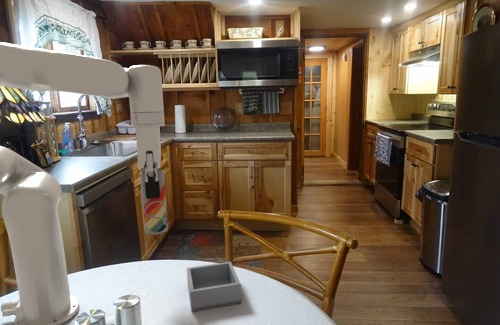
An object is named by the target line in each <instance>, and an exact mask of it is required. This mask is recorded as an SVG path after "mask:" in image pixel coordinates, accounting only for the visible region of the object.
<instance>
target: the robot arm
mask: <svg viewBox="0 0 500 325" xmlns="http://www.w3.org/2000/svg"><path fill="white" fill-rule="evenodd" d="M162 81H163V80H162V71H161V69H160V67H158V66H155V65H150V64H139V65H138V64H137V65H132V66H130V67H129V68H127V67H123V66H122V65H121V64H119V63H117V62H115V61H112V60H109V59H104V58H99V57H94V56H88V55H82V54H75V53H70V52H63V51H61V52H60V51H55V50H50V49H49V50H48V49H46V48H36V47H30V46H26V45H25V46H23V45H18V44H13V43H9V42H2V41H0V87H4V88H6V87H7V88H12V89H18V90H26V91H34V92H36V91H37V92H47V91H48V92H50V91H51V92H53V91H54V92H65V93H72V94H80V95H81V94H82V95H87V96H94V97H101V98H102V99H107V100H114V99H115V100H116V99H122V98H129V99H128V100H129V110H130V124H131V128H136V133H135V135H136V152H137V154H136V155H137V168H138V170H139V171H143V169H144V165H145V180H146V182H145V191H146V198H147V199H152V198H160V186H159V181H158V174H157V169H158V168H160V169H161V160H162V146H161V129H160V128H161V127H165V125H166V124H165V111H164V96H163V95H164V92H163V82H162ZM152 152H153V153H152ZM153 166H155V168H153ZM153 171H155V172H153ZM0 194H1V195H3V196H4V198H3V200H2V205H1V214H2V218H3V223H4V225H5V228H6V231H7V236H8V239H9V244H10V250H11V255H12V261H13V265H14V266H13V267H14V272H15V277H16V285H17V291H18V296H19V299H18V300H17V301H8V302H2V303H1V305H0V311H1V313H2V314H1V315H2V317H10V316H15V317H14V325H62V324H65V323H66V322H68V321H69V320H70V319H72V318H73V317H74V316H75V315H76V314H77V313H78V311H79V309H80V302H79V299H78V298H77V297H75V296H72V295H71V293H70V292H71V291H70V285H69V284H70V283H69V278H68V277H69V276H68V269H67V262H66V254H65V247H64V240H63V234H62V233H63V232H62V229H61V228H62V227H61V224H60V218H59V212H58V205H59V202H60V200H61V197H62V186H61V185H60V182H59V181H58V180H57V179H56V178H55V177H54V176H53V175H52V174H50V173H48V171H46V170H44V169H42V168H41V167H40V166H38V165H36V164H34V163H33V162H31V161H30V160H28V159H27V158H25V157H23V156H21V155H20V154H19V153H18V152H15V151H14V150H12V149H10V148H8V147H5V146H2V145H0Z"/></svg>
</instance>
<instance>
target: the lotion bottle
mask: <svg viewBox="0 0 500 325" xmlns="http://www.w3.org/2000/svg"><path fill="white" fill-rule="evenodd" d="M152 153H153V152H152ZM153 168H155V166H153ZM153 172H155V171H153ZM157 174H158V181H159V186H160V198H152V199H147V198H146V191H145V182H146V180H145V165H144V168H143V170H141V171H140V172H139V180H140V181H139V182H140V191H141V193H140V196H141V203H142V204H141V206H142V217H143V228H144V229H143V230H144V232H145V234H147V235H152V236H153V235H154V236H155V235H161V234H164V233H165V232H168V230H169V229H168V228H169V222H168V221H169V220H168V210H167V209H168V208H167V207H168V206H167V205H168V204H167V195H166V193H167V192H166V179H165V171H164V170H163V169H161V167H160V168H158V169H157Z"/></svg>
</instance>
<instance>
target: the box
mask: <svg viewBox="0 0 500 325" xmlns="http://www.w3.org/2000/svg"><path fill="white" fill-rule="evenodd" d="M233 265H234V264H232V261H226V262H219V263H211V264H205V265H197V266H191V267H186V274H187V276H186V277H187V278H186V279H187V290H188V296H189V304H190V310H191V313H194V312H195V313H196V312H200V311H205V310H211V309H216V308H217V309H218V308H222V307H228V306H232V305H240V304H242V294H241V293H242V292H241V287H242V286H241V282H240V280H239V277H238V274H237V272H236V270H235V269H234V266H233Z"/></svg>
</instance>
